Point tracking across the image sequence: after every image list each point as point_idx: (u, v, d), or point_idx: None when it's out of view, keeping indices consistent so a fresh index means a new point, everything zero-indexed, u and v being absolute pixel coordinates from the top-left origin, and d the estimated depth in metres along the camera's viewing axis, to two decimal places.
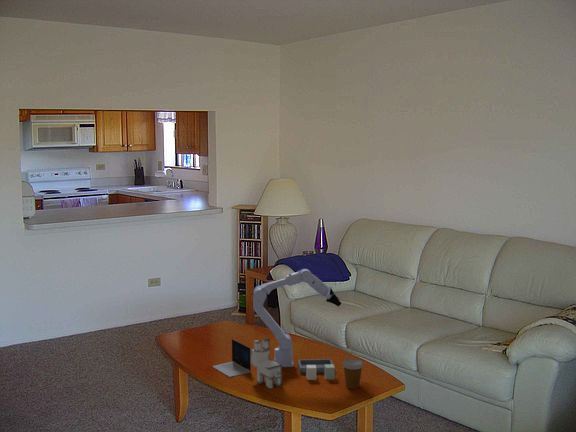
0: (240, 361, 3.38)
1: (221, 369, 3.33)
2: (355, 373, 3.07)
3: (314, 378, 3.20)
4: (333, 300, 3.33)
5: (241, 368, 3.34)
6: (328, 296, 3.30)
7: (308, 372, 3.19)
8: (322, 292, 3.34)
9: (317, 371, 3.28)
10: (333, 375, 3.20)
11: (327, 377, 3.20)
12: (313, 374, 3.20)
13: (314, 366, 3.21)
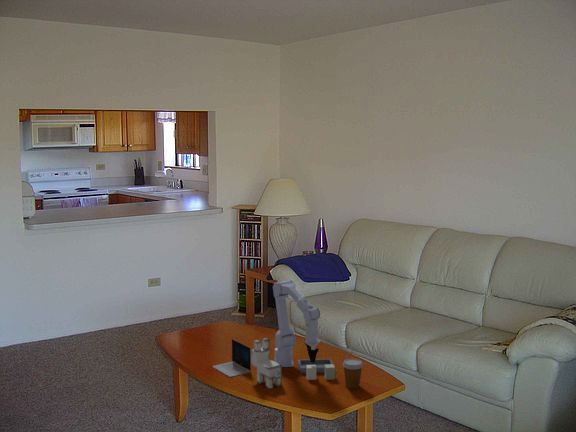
0: (240, 361, 3.38)
1: (221, 369, 3.33)
2: (355, 373, 3.07)
3: (314, 378, 3.20)
4: (312, 353, 3.16)
5: (241, 368, 3.34)
6: (313, 347, 3.13)
7: (308, 372, 3.19)
8: (310, 339, 3.17)
9: (317, 371, 3.28)
10: (333, 375, 3.20)
11: (327, 377, 3.20)
12: (313, 374, 3.20)
13: (314, 366, 3.21)
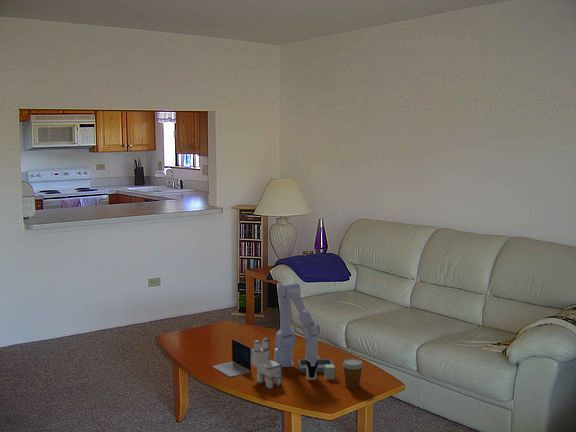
0: (240, 361, 3.38)
1: (221, 369, 3.33)
2: (355, 373, 3.07)
3: (314, 378, 3.20)
4: (311, 369, 3.18)
5: (241, 368, 3.34)
6: (312, 364, 3.14)
7: (308, 372, 3.19)
8: (310, 355, 3.18)
9: (317, 371, 3.28)
10: (333, 375, 3.20)
11: (327, 377, 3.20)
12: None
13: None
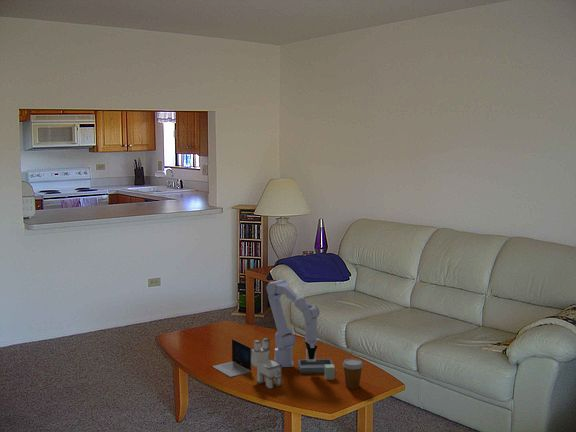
0: (240, 361, 3.38)
1: (222, 369, 3.33)
2: (355, 373, 3.07)
3: (314, 360, 3.26)
4: (310, 351, 3.24)
5: (241, 368, 3.34)
6: (312, 345, 3.19)
7: None
8: (309, 337, 3.23)
9: (317, 371, 3.28)
10: (333, 375, 3.20)
11: (327, 377, 3.20)
12: None
13: None
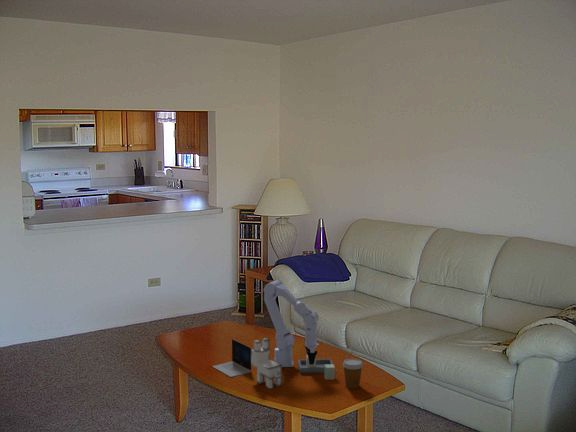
0: (240, 361, 3.38)
1: (222, 369, 3.33)
2: (355, 373, 3.07)
3: None
4: (311, 356, 3.29)
5: (242, 368, 3.34)
6: (312, 350, 3.25)
7: (308, 361, 3.31)
8: (309, 342, 3.29)
9: (317, 371, 3.28)
10: (333, 375, 3.20)
11: (327, 377, 3.20)
12: None
13: None
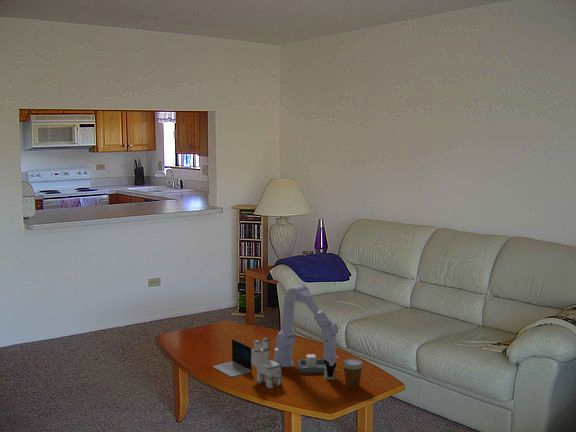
0: (240, 361, 3.38)
1: (222, 369, 3.33)
2: (355, 373, 3.07)
3: None
4: (329, 368, 3.19)
5: (242, 368, 3.34)
6: (331, 363, 3.14)
7: (308, 361, 3.31)
8: (328, 355, 3.18)
9: (317, 371, 3.28)
10: (333, 375, 3.20)
11: (327, 377, 3.20)
12: (313, 363, 3.32)
13: (314, 355, 3.33)
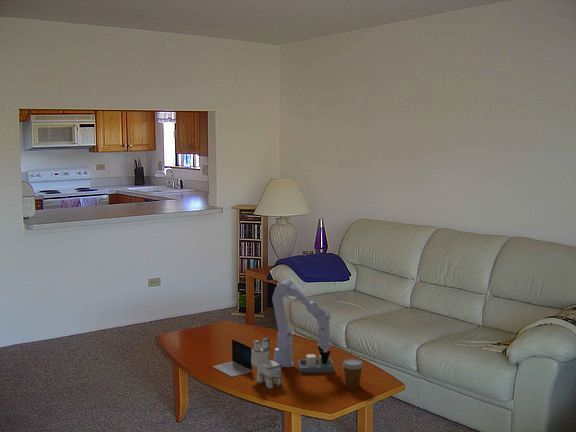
0: (241, 361, 3.38)
1: (222, 369, 3.32)
2: (355, 373, 3.07)
3: None
4: (324, 356, 3.29)
5: (242, 368, 3.35)
6: (325, 350, 3.26)
7: (308, 361, 3.31)
8: (322, 342, 3.30)
9: (317, 371, 3.28)
10: (327, 364, 3.32)
11: (321, 366, 3.32)
12: (313, 363, 3.32)
13: (314, 355, 3.33)
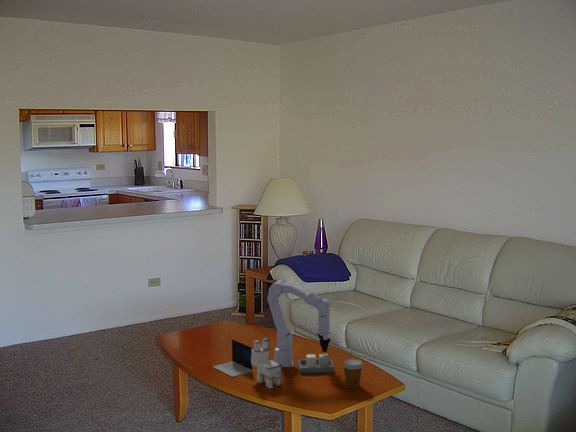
0: (241, 361, 3.38)
1: (223, 369, 3.32)
2: (355, 373, 3.07)
3: None
4: (324, 343, 3.28)
5: (242, 368, 3.35)
6: (325, 337, 3.25)
7: (308, 361, 3.31)
8: (322, 330, 3.29)
9: (317, 371, 3.28)
10: (327, 364, 3.32)
11: (321, 366, 3.32)
12: (313, 363, 3.32)
13: (314, 355, 3.33)
